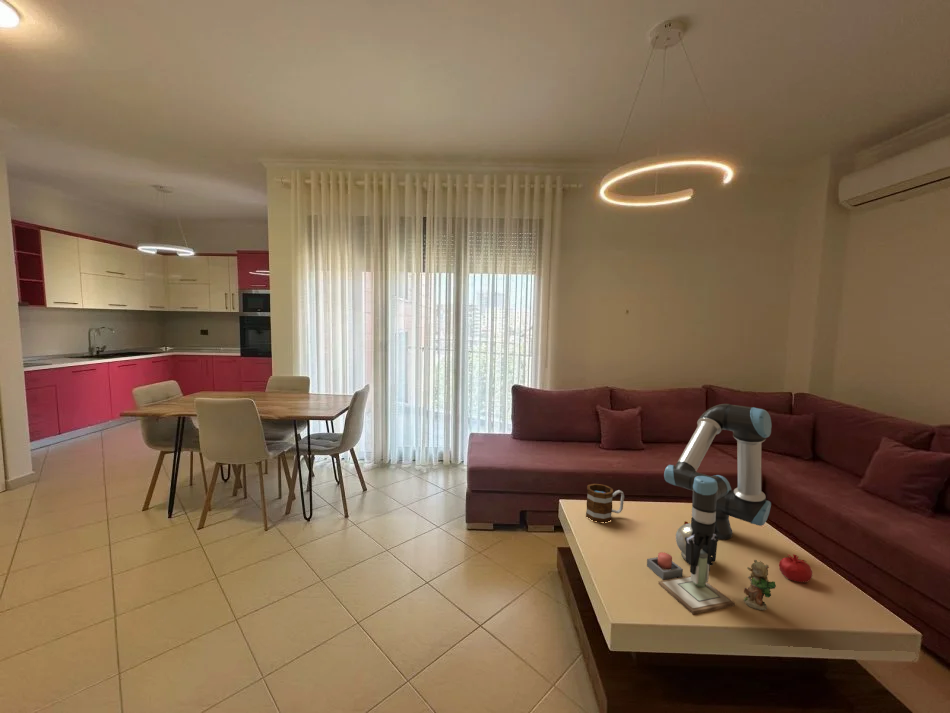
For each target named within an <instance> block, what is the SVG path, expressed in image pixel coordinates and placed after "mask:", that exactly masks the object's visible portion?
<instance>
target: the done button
mask: <svg viewBox="0 0 950 713" xmlns="http://www.w3.org/2000/svg"><path fill="white" fill-rule="evenodd" d="M657 557H658V566H659V567H660V568H661V569H663V570H670V569H671V568H672V561H673V556H672V555H671V554H669V553H668V552H663V551H661V552H658V554H657Z"/></svg>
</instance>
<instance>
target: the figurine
mask: <svg viewBox="0 0 950 713" xmlns="http://www.w3.org/2000/svg"><path fill="white" fill-rule="evenodd" d="M750 565H751V566H750V567H749V566H747V568H746V569H747V570H748V571H750V572H751V573H750V575H749V576H747V578H748V580H749V581H750V582H749V583H750V586H748V587H744V589H743V593H744V594H745V595H746V596H745V597H744V598H743V601H744V603H745V604H746V605H747V606H748V607H749V608H752V609H755V610H758V611H759V610H760V611H766V610H768V607H767V604H766V602H765V601H763V599H764V597H766V598H768V599H769V598H770V597H771V596H772V591H771V590H773V589H774V590H775V588H776V581H773V580H772V581H769V579H768V578H769V577H768V575H769V568H770V566H769V565H768V564H765V563H763V561H761V560H759V561H758V560H757V559H753V563H751V564H750Z"/></svg>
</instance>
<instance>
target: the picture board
mask: <svg viewBox="0 0 950 713" xmlns="http://www.w3.org/2000/svg"><path fill="white" fill-rule="evenodd" d="M690 579H691V575H687V576H682V577H678V578H672V579H666V580H663V579H662V580H659V581H658V583H657V584H658V585H659V587H661V588H662V589H664V591H666V592H667V593H668V594H669V595H670V596H672V597H673V599H674V600H676V601H677V602H678V603H679V604H681V606H683V607H684V608H685V609H686V610H688V612H690V613H691V614H692V615H696V614H701V613H706V612H711V611H716V610H720V609H726V608H730V607H734V606H736V602H734V601H733V600H732V599H730V598H729V597H728V596H726V595H725V594H724V593H722V592H721V591H720V590H718V589H717V588H715V587H714V586H713V585H712V584H710V583H709V581H708V582H706V586H705V587H699V586H697V585H695V584H694V583H693V581H692V580H690Z"/></svg>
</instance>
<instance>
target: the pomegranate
mask: <svg viewBox="0 0 950 713" xmlns="http://www.w3.org/2000/svg"><path fill="white" fill-rule="evenodd" d="M778 567H779V571H780V572H781V574H782V575H783V576H784V577H785V578H786V579H788V580H790V581H792V582H797V583H807V582H809V581H810V580H811V579H812V577H813V570H812V568H811V567H812V566H810V565H809V564H808V562H807V561H806V560H804V559H799V556H798V555H797V554H795V553H793V554H792V556H791V555H790V554H788V556H786V557H785V556H784V557H783V558H781V560H779V562H778Z"/></svg>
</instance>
